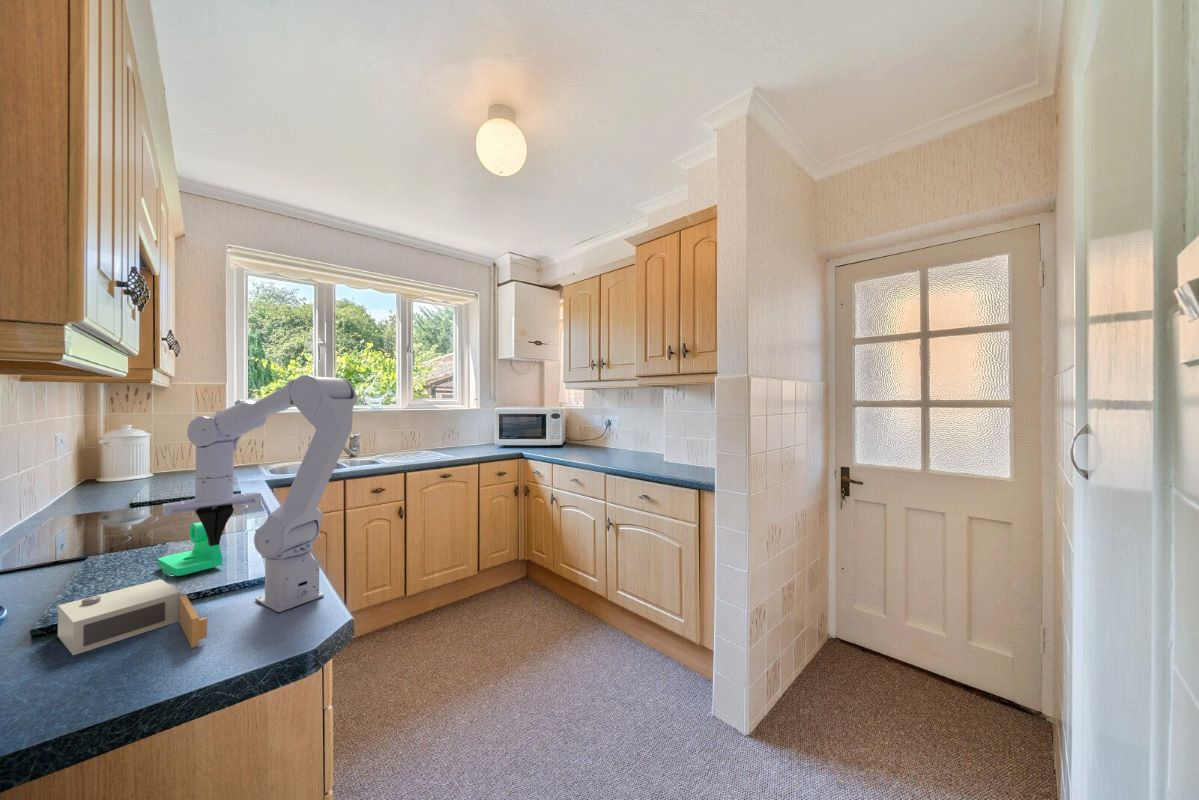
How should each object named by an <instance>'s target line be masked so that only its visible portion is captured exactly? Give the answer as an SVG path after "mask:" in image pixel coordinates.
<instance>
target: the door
mask: <svg viewBox="0 0 1199 800" xmlns="http://www.w3.org/2000/svg"><path fill="white" fill-rule="evenodd" d="M197 613H198V612H196V610H195V608H194V606H193V605H192V603H191V601H190V599H189V597H188V595H187V593H181V594H180V595H178V623H179V624H180V626H181V629H182V631H183V633H184V634H185V637H186V639H187V641H188V643H189V645H190V647H191V648H195V647H198V646H199V645H200V644H199V643H200V640H204V639H206V638H208V618H207V616H205V617H201V618H200V617H199V615H198V614H197Z"/></svg>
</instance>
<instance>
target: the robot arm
mask: <svg viewBox="0 0 1199 800" xmlns="http://www.w3.org/2000/svg"><path fill="white" fill-rule="evenodd" d="M358 398H359V397H358V395H357V392H356V390H355V387H354V386H353V384H352V382H350V381H349V380H348V379H347V378H345V377H327V376H326V377H324V376H313V375H308V374H305V375H300V376H297V378H295V379H291V380H288V381H287V383H286V385H284V386H282V387H280V388H279V389H277V390H275V391H273V392H271V393H269V394H267V395H266V396H263V397H262V398H260V399H259V400H257V401H255V400H250V399H249V400H248V399H238V400H236V401H234V405H232V406H229V408H226V409H219V410H217V411H216V412H215V414H214V415H212V416H201V415H199V416H196V417H195V418H194V419H193V420H191V421H190V422H189V424H188V426H187V431H186V432H187V438H188V440H189V442H190V443H191V444H192V445H194V446H195V475H194V476H195V477H194V478H195V479H194V480H195V482H194V483H195V486H194V489H195V490H194V492H195V493H194V498H192V499H186V500H180V501H174V502H168V503H162V516H163V517H167V516H172V515H174V514H180V513H189V512H195V514H196V515H197V517H198V519H199V521H200V522H202V524H203V526H204V529H205V531H206V534H207V538H208V544H209V545H210V546H214V545H220V543H221V538H222V536H223V533H224V530H225V527H226V525H227V523H228V522H229V520H230V518H231V516H232V515H233V513H234V510H235V509H234V508H235V507H233V506H238V505H239V506H240V505H247V504H253V503H254V504H260V503H261V500H262V499H261V497H262V496H261V495H262V494H261V493H260V492H259V491H256V492H246V493H234V467H235V464H234V461H235V460H234V458H235V456H234V455H235V452H236V450H237V449H238V443H239V441H240V439H241V438H242V436H243V435H245V434H248V433H249V432H252V431H254V430H256V429H258V428H260V427H262V426H264V425H265V424H266V422H267V420H268V417H270V416H272V415H275V414H277V413H280V412H284V411H285V410H288V409H290V408H292V407H296V408H297V409H298V411H299V412H300V413H301V414H302V415H303V416H304V418H305V419H306V420H307V421H308V423H309V424H310V425H312V426H313V427H314V429H315V432H314V434H313V436H312V439H311V441H310V443H309V445H308V448H307V450H306V452H305V455H304V457H303V459H302V461H301V464H300V465H299V468H298V470H297V473H296V474H295V477H294V480H293V482H292V484H291V486H290V488H289V490H288V492H287V495H286V497H285V500H284V502H283V503H282V504H281V505H279V506H278V507H277V508H276V509H275V510H274V511H272V512H271V513H270V514H269V515H268V516H267V518H266V520H265V522H264V523H263V524H262V525H261V526H260V527H258V528H257V530H256V531H255V533H254V536H253V543H254V547H255V550H256V552H257V553H259V554H260V556H261V558H262V559H264V560H265V562H264V564H265V566H264V594H262V595H259V596H255V598H254V601H256V602H258V603H259V604H262V605H264V606H266V607H268V608H270V609H271V610H272V611H274V612H277V613H281V612H284V611H287V610H289V609H292V608H294V607H298V606H300V605H303V604H305V603H309V602H311V601H314V600H317V599H319V598H322V597H324V596H325V593H324V592H322V591H320V565H319V563H318V561H317V560H316V559H315V558H314V557H313V556H312V547H314V541H315V540H317V538H319V536H320V534H321V533H320V532H321V521H322V518H323V516H324V513H323V512H322V510H320V508H319V507H318V506H319V504H320V502H321V499H322V497H323V494H324V493H325V491H326V488H327V486H328V483H329V481H330V479H331V478H332V475H333V472H334V471H335V468H336V466H337V463H338V461H339V459H340V457H341V455H342V452H343V450H344V448H345V446H346V445H347V442H348V439H349V437H350V435H351V432H352V429H353V413H354V411H353V410H354V407H355V405H356V402H357V400H358Z"/></svg>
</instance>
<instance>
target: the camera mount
mask: <svg viewBox="0 0 1199 800" xmlns="http://www.w3.org/2000/svg"><path fill="white" fill-rule="evenodd" d="M189 539H190V541H191V543H192V544H194V545H193V548H192V550H187V551H184V552H178V553H174V554H171V555H166V556H162V557H159V558H158V567H159V568H162V573H163V572H165V573H167V574H169V575H175V576H174V577H179V576H180V577H181V576H185V575H189V574H193V573H197V572H200V571H205V570H209V569H211V568H216V567H219V566H223V554H222V550H221V545H220V544H219V545H214V546H210V545H209V544H208V538H207V534H206V531H205V529H204V526H203V524H202V522H201V521H200V522H199V521H198V522H193V523H191V524H190V526H189Z"/></svg>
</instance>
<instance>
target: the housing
mask: <svg viewBox="0 0 1199 800" xmlns="http://www.w3.org/2000/svg"><path fill="white" fill-rule="evenodd" d="M180 594H182V593H181V591H180V590H178V589H176V588H175V587H174V586H172V585H170V584H169V583H168V582H166V581H164V580H162V579H156V580H152V581H148V582H145V583H140V584H136V585H133V586H129V587H124V588H119V589H117V590H113V591H110V592H104V593H102V594H97V595H94V596H90V597H89V596H88V597H85V598H82V599H78V600H74V601H70V602H66V603H62V604H58V606H57V637H58V638H59V640H60V641H61V642H62V644H64V646H65V648H66V649H67V651H69V652H70V653H71V654H72V656H75V655H79V654H82V653H85V652H86V653H87V652H88V651H91V650H95V649H97V648H101V647H104V646H106V645H110V644H112V643H113V644H114V643H116V642H119V641H122V640H125V639H128V638H132V637H135V636H137V635H140V634H141V635H142V634H143V633H147V632H150V631H153V630H156V629H158V628H162V627H165V626H168V625H172V624H174V623H177V622H178V595H180ZM178 623H179V622H178Z"/></svg>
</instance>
